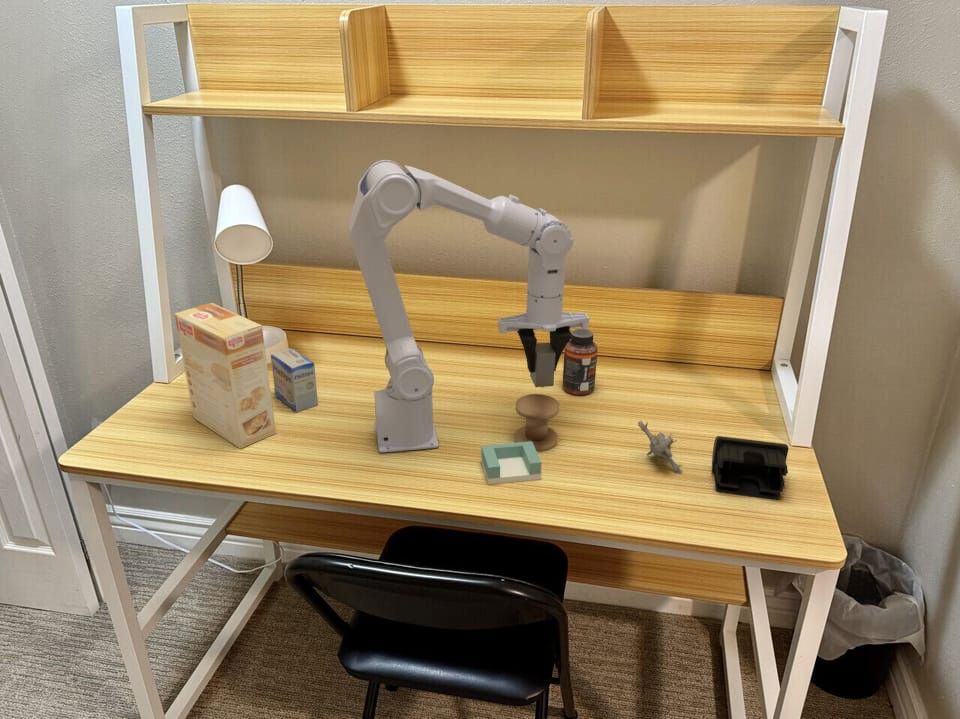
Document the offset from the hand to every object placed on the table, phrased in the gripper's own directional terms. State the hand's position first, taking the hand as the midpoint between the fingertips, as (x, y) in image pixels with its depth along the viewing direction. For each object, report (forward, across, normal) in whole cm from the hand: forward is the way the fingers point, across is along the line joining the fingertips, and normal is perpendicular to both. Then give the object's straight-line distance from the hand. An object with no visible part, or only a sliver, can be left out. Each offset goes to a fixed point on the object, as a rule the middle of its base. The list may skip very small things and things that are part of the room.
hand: (541, 369), depth 124 cm
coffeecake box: (+10, -51, +7) cm, 52 cm away
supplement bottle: (+10, +10, +10) cm, 17 cm away
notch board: (+10, -8, -14) cm, 19 cm away
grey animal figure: (+10, +15, -14) cm, 23 cm away
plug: (+2, 0, 0) cm, 2 cm away
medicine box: (+10, -41, +14) cm, 45 cm away
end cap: (+10, +26, -23) cm, 36 cm away
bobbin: (+10, -2, -6) cm, 12 cm away
